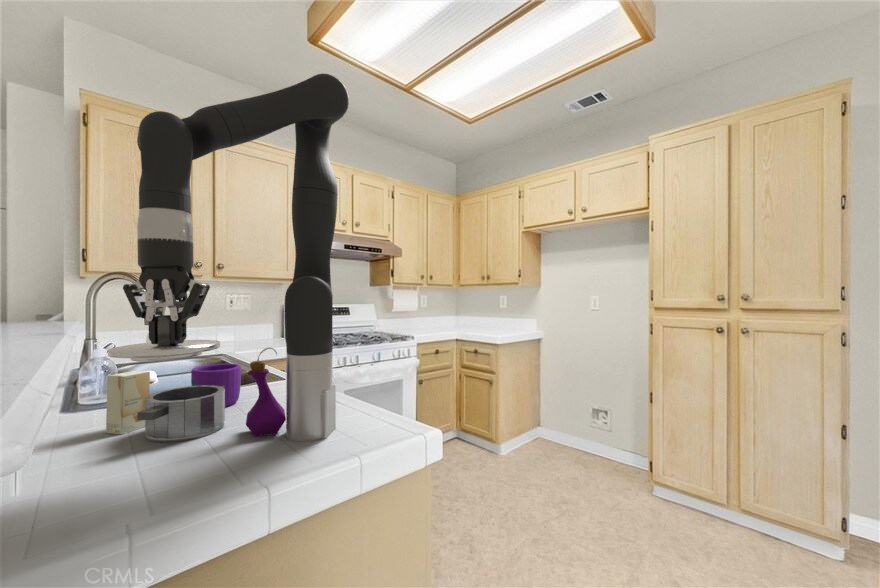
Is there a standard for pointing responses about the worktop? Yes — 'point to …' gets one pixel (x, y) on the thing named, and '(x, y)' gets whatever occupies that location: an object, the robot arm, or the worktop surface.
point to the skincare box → (126, 401)
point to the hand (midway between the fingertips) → (167, 343)
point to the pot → (184, 413)
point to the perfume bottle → (264, 404)
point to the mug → (219, 379)
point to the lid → (163, 346)
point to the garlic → (153, 377)
